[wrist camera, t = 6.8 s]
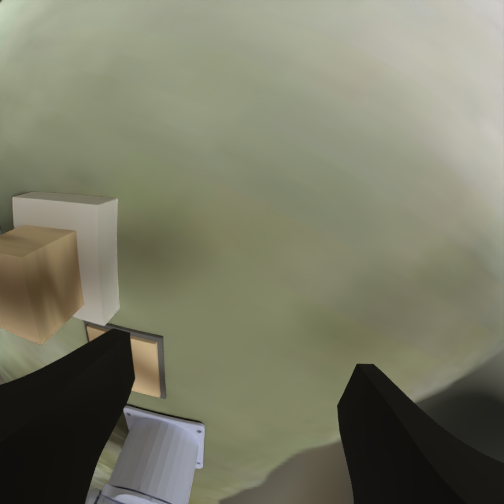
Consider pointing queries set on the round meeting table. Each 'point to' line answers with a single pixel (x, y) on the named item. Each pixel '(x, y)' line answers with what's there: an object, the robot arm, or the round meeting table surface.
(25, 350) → the round meeting table surface
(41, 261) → the maple cube
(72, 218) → the base block
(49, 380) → the robot arm
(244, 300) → the round meeting table surface
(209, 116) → the round meeting table surface
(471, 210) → the round meeting table surface
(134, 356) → the tile
